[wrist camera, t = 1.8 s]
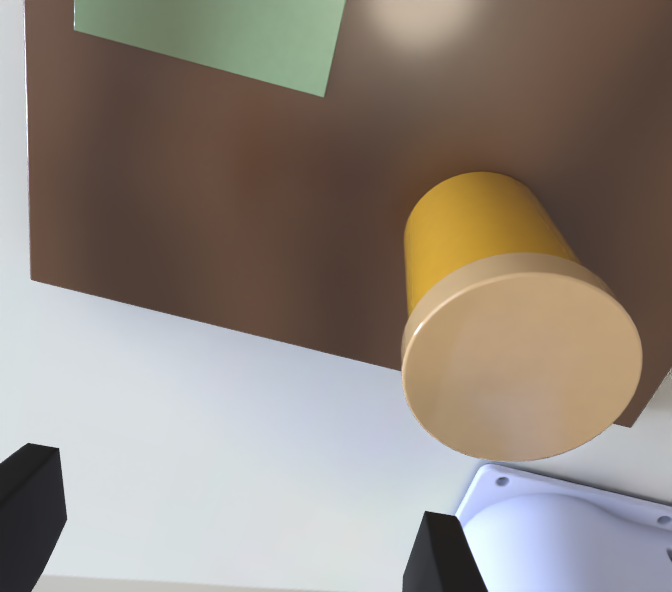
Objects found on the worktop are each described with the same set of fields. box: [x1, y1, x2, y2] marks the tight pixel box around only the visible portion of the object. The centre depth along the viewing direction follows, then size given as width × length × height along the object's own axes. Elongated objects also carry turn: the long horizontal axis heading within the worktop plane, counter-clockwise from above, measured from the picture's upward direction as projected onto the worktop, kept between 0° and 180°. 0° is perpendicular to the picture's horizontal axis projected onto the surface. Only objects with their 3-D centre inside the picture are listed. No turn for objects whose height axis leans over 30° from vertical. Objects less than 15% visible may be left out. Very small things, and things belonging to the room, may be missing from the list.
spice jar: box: [401, 172, 643, 462], centre depth 15 cm, size 5×5×7 cm
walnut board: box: [23, 0, 672, 428], centre depth 17 cm, size 22×17×1 cm
